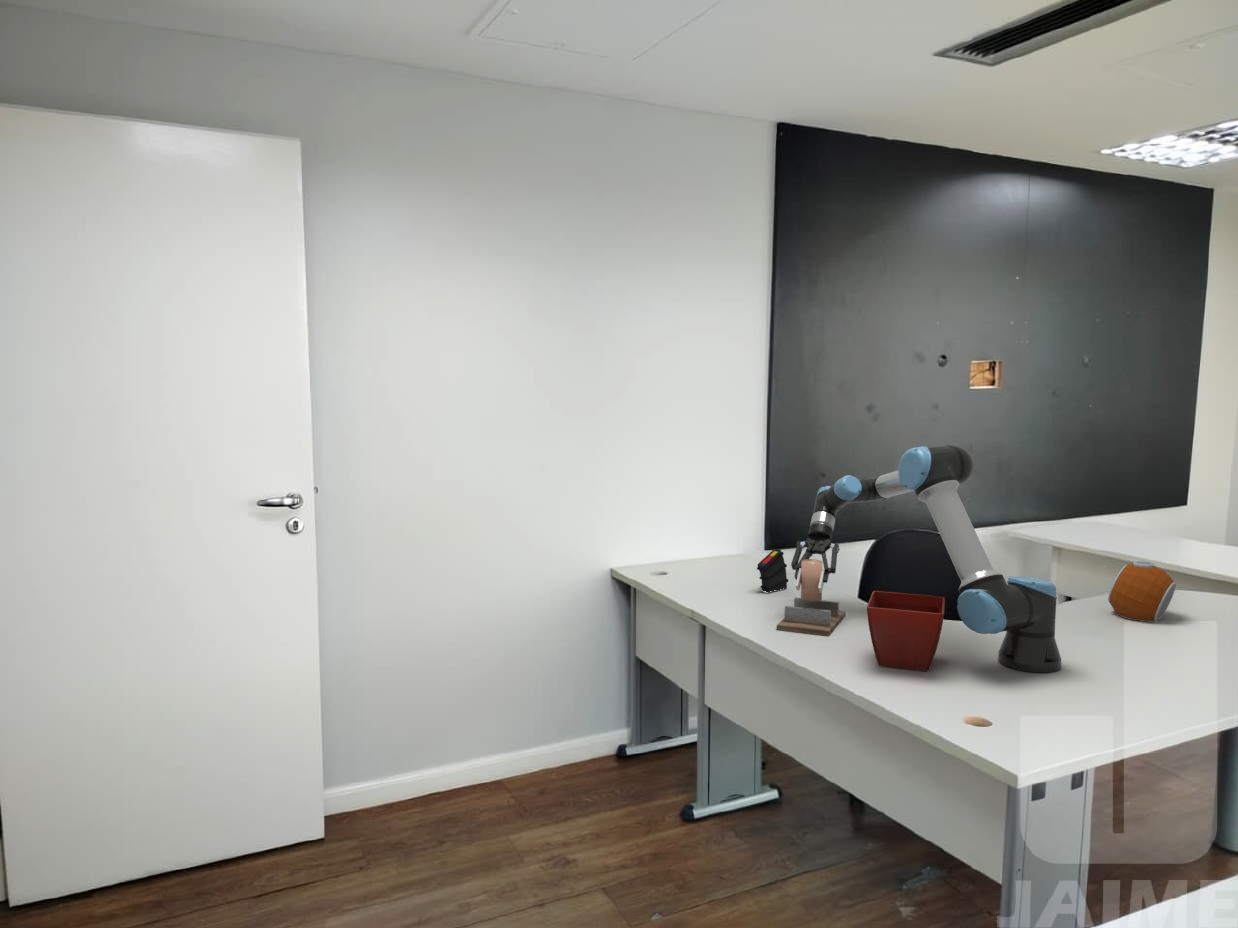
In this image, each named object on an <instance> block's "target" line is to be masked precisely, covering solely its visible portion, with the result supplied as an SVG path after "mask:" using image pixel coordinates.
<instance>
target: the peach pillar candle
mask: <svg viewBox="0 0 1238 928" xmlns="http://www.w3.org/2000/svg"><path fill="white" fill-rule="evenodd" d="M822 570H823V560H820V559H811V558H809V559H805V560H802V561H801V585H800V598H801V599H802V600H805V601H820V600H823V592H822V593H819V589H818V586H819V581H820V576H821V572H822Z"/></svg>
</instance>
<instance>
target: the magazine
mask: <svg viewBox="0 0 1238 928" xmlns="http://www.w3.org/2000/svg"><path fill="white" fill-rule="evenodd" d="M784 554H785V552H784V551H782V550H781V549H778V548H774V549H772V550H771V552H769V553H768V554H767V555H766V556H765V557H764V558H762V560H760V562H759V563H758V564H757V567H756V570H757V571H759V574H760V577H758V578H759V579H760V581H761V585H760V587H759V588H760V589H761V591H762V590H763V591H766V592H770V591H774V590H779V591H781V590H780V589H783V588H787V589H788V584H787V583H789V578H787V569H786V568H787V567H788V564H787V563H785V562H786V561H785V559H784ZM783 590H784V589H783Z"/></svg>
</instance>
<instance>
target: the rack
mask: <svg viewBox="0 0 1238 928" xmlns="http://www.w3.org/2000/svg"><path fill="white" fill-rule="evenodd" d="M793 599H794V600H793V601H794V602H793V603H794V604H793V606H792V605H785V606H784V618H783V619H782V620H781V621H779V622H778V623H777V624H776V631H783V632H791V633H797V634H798V633H799V634H807V635H815V636H816V635H817V636H822V637H823V636H824V637H830V636H831V634H832V633H833V632H834V630H835V629H836V628H837V627H838V626H839V624H841V622H842V621H843V620H844V618H846V614H847V613H846V611H844V610H840V601H837V600H828V599H827V600H825V599H822V600H820V601H805V600H802V599H801V597H794V598H793Z"/></svg>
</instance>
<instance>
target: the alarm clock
mask: <svg viewBox="0 0 1238 928" xmlns="http://www.w3.org/2000/svg"><path fill="white" fill-rule="evenodd" d="M1176 584H1177V583H1176V582H1174V580H1173V579H1172V577H1171V575H1169V574H1168V573H1167V572H1166V571H1165V570H1163V569H1161V568H1160V567H1157V566H1156V565H1155V564H1154V563H1153V562H1150V561H1140V560H1138V561H1133V563H1131V564H1125V565H1123V566H1122V568H1121V569H1120V571H1118V573H1117V575H1116V577H1115V579H1114V580H1113V583H1112V585H1111V588H1110V591H1109V593H1108V596H1107V598H1108V599H1107V601H1108V603H1109V604H1110V606H1111V607H1112V608H1113V610H1114V611H1115V612H1116V613H1117V614H1118V615H1120V616H1119V617H1122V618H1124V619H1125V618H1126V619H1128V620H1132V619H1134V620H1133V621H1136V620H1140V621H1139V622H1145V621H1156V622H1157V621H1159V620H1160V619H1161V618H1163V616H1164V615H1165V613H1166V611H1167V609H1168V607H1169V606H1170V604H1171V601H1172V599H1173V596H1174V594H1175V590H1176V586H1177V585H1176ZM1158 619H1159V620H1158Z"/></svg>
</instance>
